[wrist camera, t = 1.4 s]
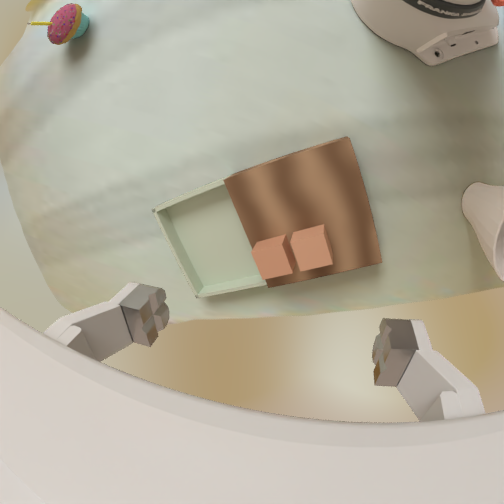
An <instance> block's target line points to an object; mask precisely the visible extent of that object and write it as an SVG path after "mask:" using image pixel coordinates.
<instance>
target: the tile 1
mask: <svg viewBox="0 0 504 504" xmlns="http://www.w3.org/2000/svg"><path fill="white" fill-rule="evenodd" d="M251 254H252V256H253V258H254V261H255V263H256V265H257V268H258V270H259V272H260V275H261V277H262V280H265V279H269V278H274V277H278V276H283V275H288V274H292V273H293V270H294V267H295V263H296V261H295V258H294V255H293V253H292V250H291V247H290V244H289V242H288V239H287V236H286V234H285V235H281V236H277V237H274V238H270V239H266V240H263V241H259V242H257V243H256V244H255V246H254V248H253V250H252V251H251Z"/></svg>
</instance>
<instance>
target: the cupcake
mask: <svg viewBox="0 0 504 504" xmlns="http://www.w3.org/2000/svg"><path fill="white" fill-rule="evenodd" d="M81 11H82V8H81V6H79V5H78V4H72V3H71V4H68V5H65V6H64V7H61V8H60V9H59V10H58V11H57V12H56V13H55V15H54V16H53V17H52V19H51V21H50V22H31V23H27V24H31V25H48V35H47V36H48V37H49V38H48V39H49V40H50V41H51V42H52V43H53V44H57V45H60V44H63V43H66V42H68V41H69V40H70V39H73V38H77V37H80V36H81V35H82V34H83V33H84V32H85V31H86V29H87V27H88V24H89V18H88V17H87V16H86V15H84V14H83V13H82V12H81Z"/></svg>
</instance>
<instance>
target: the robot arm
mask: <svg viewBox="0 0 504 504" xmlns="http://www.w3.org/2000/svg"><path fill="white" fill-rule="evenodd" d="M351 2H352V5H353V7H354V9H355V11H356V13H357V14H358V16H359V17H360V19H361V20H362V21H363V22H364V23H365V24H366V25H367V26H368V27H369V28H370V29H371V30H372V31H373V32H375V33H376V34H377V35H379V36H380V37H382V38H383V39H385V40H387V41H388V42H390V43H392V44H395V45H397V46H400V47H402V48H405V49H407V50H409V51H411V52H412V53H413V54H415V55H416V56H417V57H418V58H419V59H420V60H421V61H423V62H424V63H425V64H427V65H429V66H435V65H438V64H440V63H443V62H446V61H448V60H451V59H454V58H457V57H460V56H462V55H465V54H468V53H471V52H474V51H477V50H481V49H484V48H487V47H490V46H493V45H495V44H497V43H498V30H497V25H498V24H499V15H498V11H497V8H496V6H504V0H351ZM435 52H436V53H437V54H438V55H439V57H437V56H436V55H435ZM165 299H166V294H165V290H163V289H162V288H158V287H154V286H149V285H145V284H140V283H135V282H130V283H128V284H127V285H126V286H125V287H124V288H123V289H122V290H121V291H120V292H118V293H117V294H116V295H115V296H114V297H113V298H112V299H111V300H110V301H109V302H106V301H105V302H102V303H100V304H97V305H94V306H91V307H88V308H86V309H83V310H80V311H77V312H74V313H72V314H69V315H66V316H63V317H61V318H59V319H58V320H57V321H55V322H54V323H53V324H52V325H51V326H50V327H49V328H48V329H47V330H46V331H45V332H44V333H41V332H40V331H38V330H36V329H34V328H33V327H31V326H29V325H28V324H26V323H24V322H23V321H21V320H19V319H18V318H16V317H14V316H13V315H12V314H10V313H9V312H7V311H6V310H4V309H3V308H1V307H0V504H504V410H502V411H497V412H492V413H487V414H485V411H484V407H483V404H482V400H481V397H480V394H479V391H478V388H477V387H476V386H475V385H474V384H473V383H472V382H471V381H470V380H469V379H468V378H466V377H465V376H464V375H463V374H462V373H461V372H460V371H459V370H458V369H457V368H456V367H454V366H453V365H452V364H451V363H450V362H449V361H448V360H447V359H445V358H444V357H443V356H442V355H441V354H440V353H439V352H438V351H433V349H432V346H431V343H430V339H429V337H428V334H427V331H426V328H425V325H424V322H423V321H422V320H415V319H413V320H412V319H409V320H403V319H389V318H383V319H382V321H381V324H380V334H379V335H378V336H376V339H375V342H374V346H373V354H372V358H373V362H374V363H375V365H376V366H375V369H374V383H375V385H377V386H395V387H397V389H398V391H399V392H400V393H401V395H402V396H403V397H404V399H405V400H406V402H407V403H408V405H409V406H410V407H411V409H412V411H413V412H414V413H415V415H416V416H417V418H418V419H419V420H420V421H419V422H403V423H402V422H401V423H367V422H345V421H330V420H319V419H309V418H301V417H294V416H287V415H280V414H273V413H267V412H262V411H257V410H251V409H246V408H242V407H237V406H232V405H228V404H224V403H220V402H215V401H211V400H208V399H204V398H200V397H196V396H193V395H189V394H186V393H183V392H180V391H176V390H173V389H170V388H167V387H163V386H161V385H158V384H155V383H152V382H149V381H146V380H143V379H141V378H138V377H136V376H133V375H130V374H128V373H125V372H123V371H120V370H118V369H115V368H113V367H110V366H108V365H106V364H103V363H101V361H102V360H104V359H106V358H108V357H109V356H111V355H113V354H115V353H116V352H118V351H120V350H122V349H123V348H125V347H127V346H129V345H130V344H132V343H133V342H135V343H138V344H142V345H146V346H149V347H151V345H152V344H153V343H154V341H155V340H156V339H157V337H158V331H160V330H163V329H164V328H165V326H166V325H167V323H168V320H169V308H168V306H167V305H166V303H165V302H164V301H165Z"/></svg>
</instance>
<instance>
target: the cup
mask: <svg viewBox="0 0 504 504" xmlns="http://www.w3.org/2000/svg"><path fill="white" fill-rule="evenodd" d="M462 211H463V213H464V216H465V217H466V218H467V220H468V221H469V222H470V223H471V225H472V227H473V229H474V231H475V233H476V235H477V238H478V240H479V243H480V245H481V247H482V249H483V251H484V253H485V255H486V257H487V259H488V261H489V263H490V264H491V266H492V267H493V269H494V270H495V272H496V273H497V275H498V276H499V278H500V279H501V280H502V281H503V282H504V186H493V185H487V184H484V183H481V182H476V183H473V184H471V185H470V186H469V187H468V188H467V189H466V190H465V192H464V195H463V198H462Z"/></svg>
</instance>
